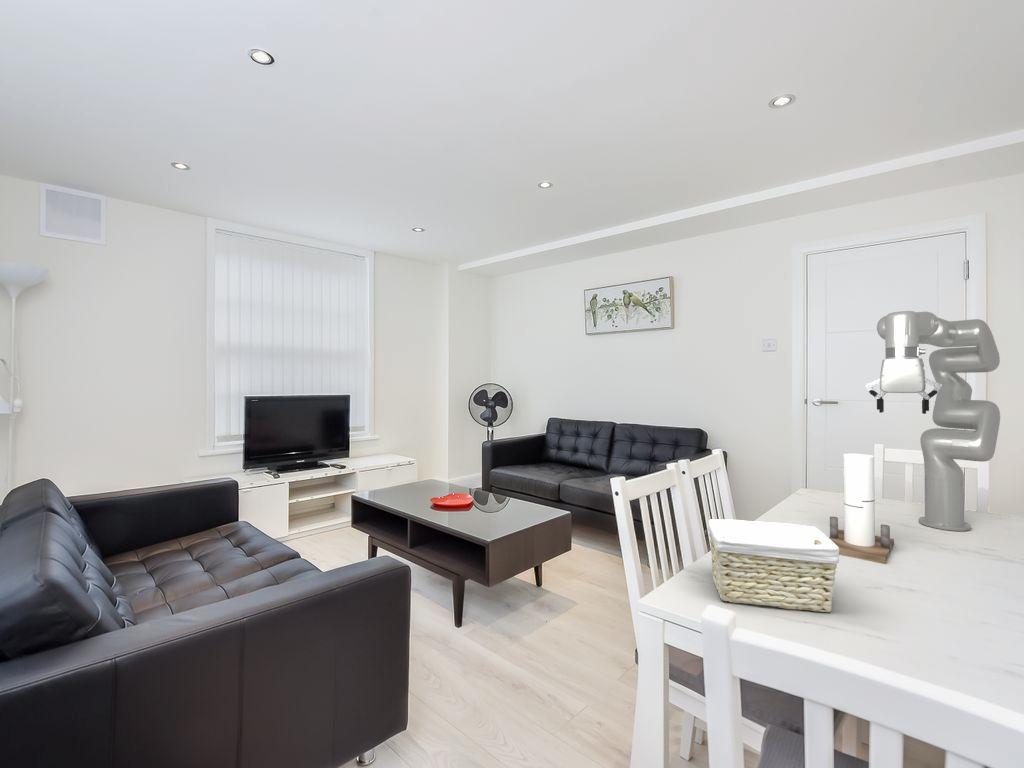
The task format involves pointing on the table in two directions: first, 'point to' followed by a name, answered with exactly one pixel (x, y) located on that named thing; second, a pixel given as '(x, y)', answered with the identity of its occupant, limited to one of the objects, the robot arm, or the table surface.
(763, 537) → the storage basket
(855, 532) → the cylindrical container
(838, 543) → the board
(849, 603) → the table surface
